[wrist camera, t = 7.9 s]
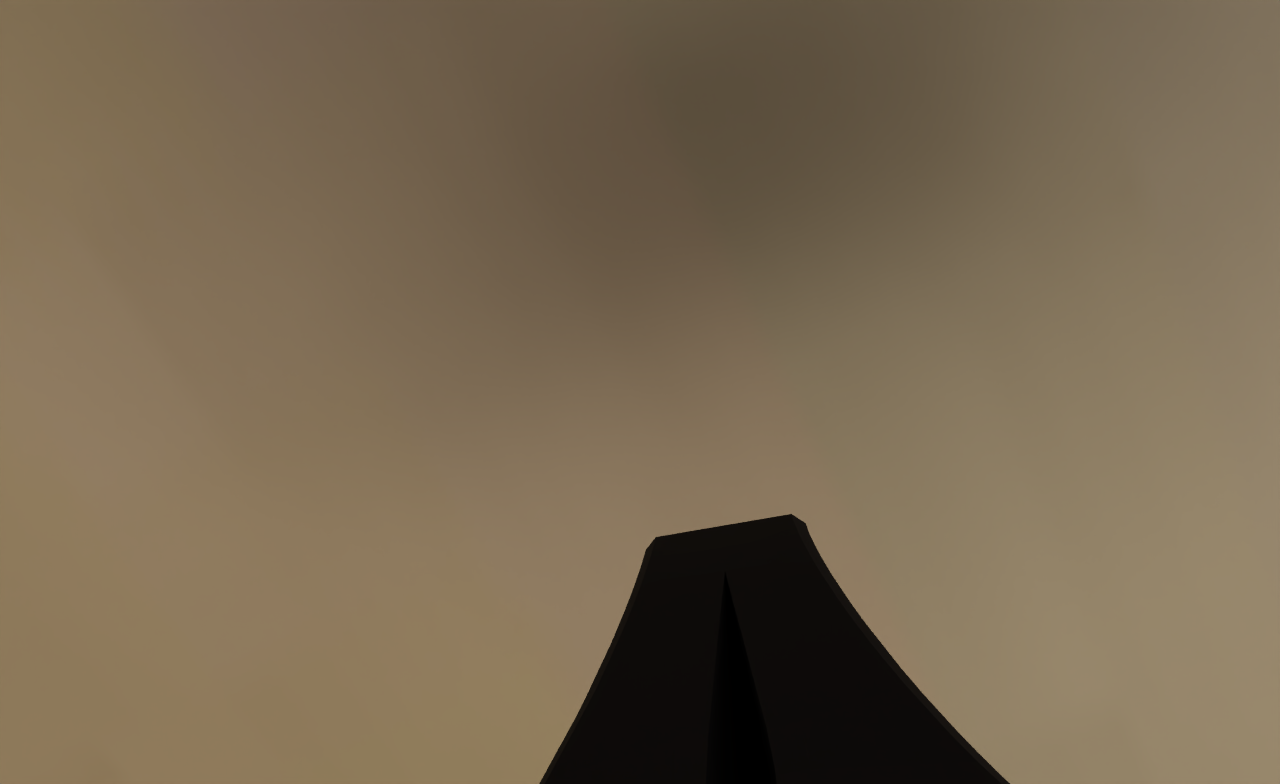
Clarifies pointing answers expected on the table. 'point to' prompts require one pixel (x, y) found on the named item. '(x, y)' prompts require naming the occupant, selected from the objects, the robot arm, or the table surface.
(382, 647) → the table surface
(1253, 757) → the table surface
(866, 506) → the table surface
